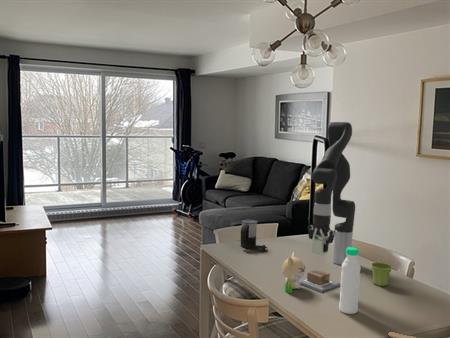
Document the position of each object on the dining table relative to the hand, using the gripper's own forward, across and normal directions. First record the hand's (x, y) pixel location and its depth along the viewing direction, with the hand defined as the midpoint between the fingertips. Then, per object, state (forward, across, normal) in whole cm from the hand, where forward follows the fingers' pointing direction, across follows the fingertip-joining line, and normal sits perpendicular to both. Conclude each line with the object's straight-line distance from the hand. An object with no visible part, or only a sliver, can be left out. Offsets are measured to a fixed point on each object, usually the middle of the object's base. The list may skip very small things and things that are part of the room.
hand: (319, 250), depth 201 cm
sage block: (+1, 0, 0) cm, 1 cm away
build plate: (+16, 0, 0) cm, 16 cm away
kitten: (+16, +4, +13) cm, 21 cm away
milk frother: (+16, +58, -17) cm, 63 cm away
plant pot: (+16, -17, -24) cm, 33 cm away
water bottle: (+16, -25, +14) cm, 33 cm away
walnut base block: (+14, 0, 0) cm, 14 cm away
